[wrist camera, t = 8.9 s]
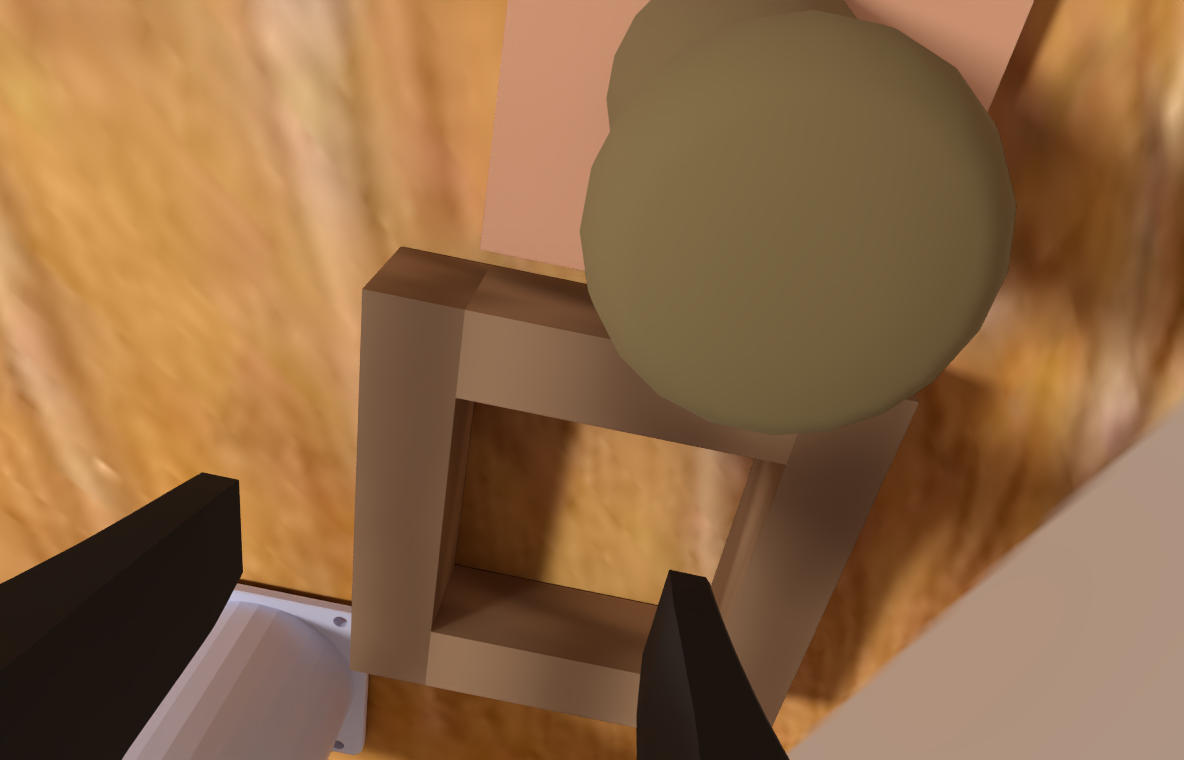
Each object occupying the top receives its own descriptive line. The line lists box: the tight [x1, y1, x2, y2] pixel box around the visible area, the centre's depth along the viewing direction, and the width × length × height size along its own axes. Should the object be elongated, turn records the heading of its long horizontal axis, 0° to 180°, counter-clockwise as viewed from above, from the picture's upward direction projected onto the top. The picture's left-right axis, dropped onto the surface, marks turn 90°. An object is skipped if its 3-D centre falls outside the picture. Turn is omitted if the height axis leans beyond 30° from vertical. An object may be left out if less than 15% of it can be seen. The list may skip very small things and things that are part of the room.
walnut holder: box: [350, 247, 919, 728], centre depth 24 cm, size 14×14×3 cm
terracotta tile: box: [480, 0, 1034, 271], centre depth 18 cm, size 11×11×1 cm
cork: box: [580, 0, 1017, 435], centre depth 13 cm, size 6×6×11 cm
